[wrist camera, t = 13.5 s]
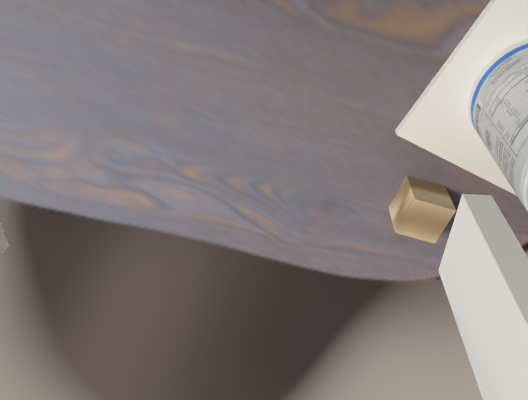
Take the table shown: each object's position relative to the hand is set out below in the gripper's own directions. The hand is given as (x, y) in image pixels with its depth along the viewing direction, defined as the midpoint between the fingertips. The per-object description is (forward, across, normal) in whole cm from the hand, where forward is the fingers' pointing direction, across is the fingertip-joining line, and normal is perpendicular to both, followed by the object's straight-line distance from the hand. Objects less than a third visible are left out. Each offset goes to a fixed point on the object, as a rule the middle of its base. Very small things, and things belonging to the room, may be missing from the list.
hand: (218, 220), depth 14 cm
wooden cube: (+29, +15, -18) cm, 37 cm away
